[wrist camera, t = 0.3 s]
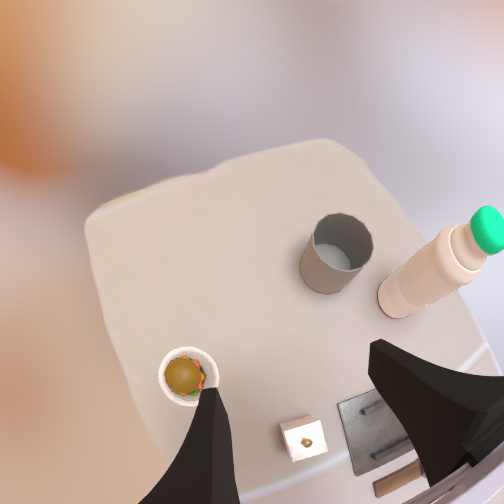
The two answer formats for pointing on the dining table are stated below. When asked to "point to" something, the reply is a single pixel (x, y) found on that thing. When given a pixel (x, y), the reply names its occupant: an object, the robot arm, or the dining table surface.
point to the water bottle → (443, 264)
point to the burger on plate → (185, 375)
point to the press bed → (372, 432)
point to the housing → (303, 437)
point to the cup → (336, 253)
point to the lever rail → (397, 479)
